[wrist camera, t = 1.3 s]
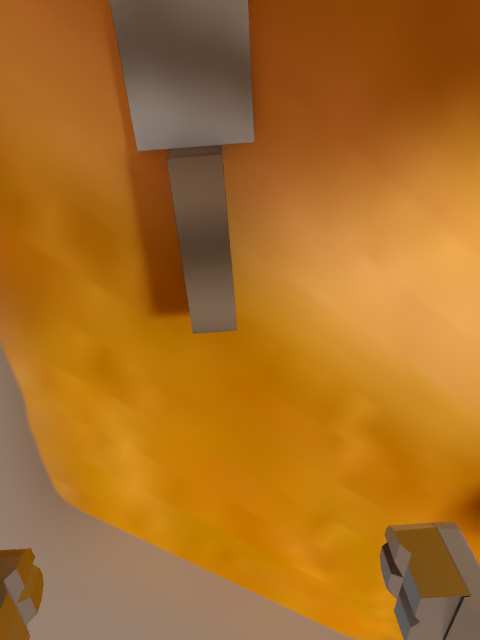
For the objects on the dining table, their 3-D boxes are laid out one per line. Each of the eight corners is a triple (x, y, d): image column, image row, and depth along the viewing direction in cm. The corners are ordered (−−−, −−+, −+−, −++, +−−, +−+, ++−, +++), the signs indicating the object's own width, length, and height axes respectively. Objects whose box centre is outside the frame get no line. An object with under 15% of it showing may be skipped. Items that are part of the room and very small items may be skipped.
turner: (261, 302, 29) (265, 328, 26) (169, 309, 29) (164, 336, 26) (245, -30, 19) (249, -40, 17) (109, -19, 19) (93, -27, 17)
